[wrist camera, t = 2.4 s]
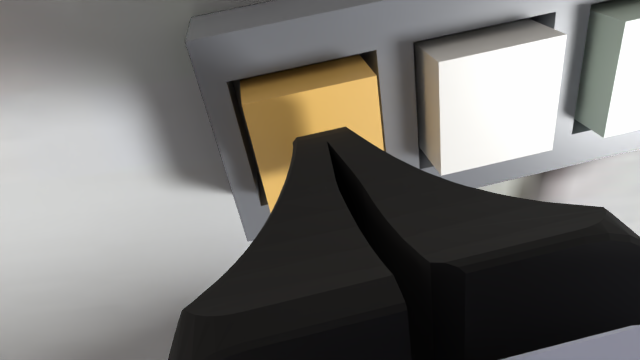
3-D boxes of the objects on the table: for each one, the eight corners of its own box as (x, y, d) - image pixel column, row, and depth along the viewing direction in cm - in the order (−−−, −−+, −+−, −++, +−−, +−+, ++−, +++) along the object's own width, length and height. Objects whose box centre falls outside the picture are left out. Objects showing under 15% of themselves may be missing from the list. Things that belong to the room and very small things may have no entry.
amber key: (359, 54, 13) (376, 75, 12) (371, 158, 15) (387, 188, 14) (239, 79, 13) (241, 105, 12) (266, 182, 15) (271, 215, 13)
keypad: (685, -83, 15) (766, -79, 12) (641, 106, 18) (698, 135, 16) (191, 17, 14) (184, 41, 11) (244, 196, 17) (247, 241, 15)
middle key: (528, 18, 14) (566, 34, 12) (520, 124, 15) (552, 149, 14) (414, 42, 13) (438, 62, 12) (419, 147, 15) (441, 175, 14)
